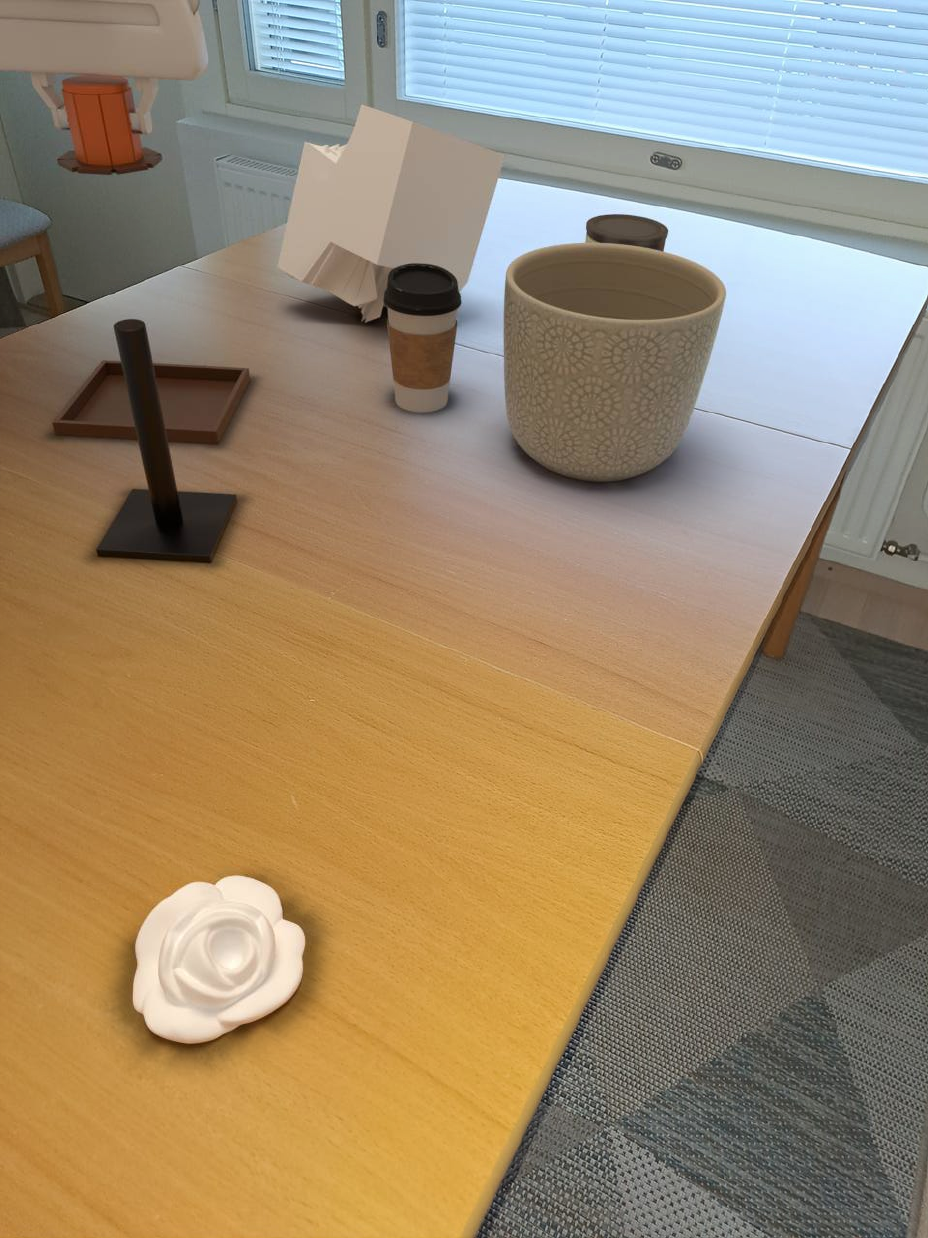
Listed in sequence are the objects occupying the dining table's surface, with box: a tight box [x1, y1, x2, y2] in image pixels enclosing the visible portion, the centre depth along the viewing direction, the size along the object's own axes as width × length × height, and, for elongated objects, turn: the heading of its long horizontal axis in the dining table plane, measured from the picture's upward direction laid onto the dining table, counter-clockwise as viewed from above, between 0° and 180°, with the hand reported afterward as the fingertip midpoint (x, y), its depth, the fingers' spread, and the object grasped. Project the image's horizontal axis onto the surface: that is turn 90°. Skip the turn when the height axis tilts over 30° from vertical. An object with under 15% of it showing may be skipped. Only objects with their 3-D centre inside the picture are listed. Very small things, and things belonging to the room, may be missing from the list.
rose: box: [132, 875, 306, 1044], centre depth 51 cm, size 10×4×10 cm
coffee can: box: [584, 213, 669, 252], centre depth 119 cm, size 10×10×14 cm
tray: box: [51, 359, 251, 446], centre depth 101 cm, size 17×15×2 cm
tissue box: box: [276, 104, 506, 323], centre depth 119 cm, size 20×16×25 cm
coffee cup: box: [383, 263, 463, 414], centre depth 101 cm, size 8×8×15 cm
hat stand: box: [95, 318, 238, 564], centre depth 78 cm, size 10×10×20 cm
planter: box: [503, 242, 727, 483], centre depth 93 cm, size 21×21×19 cm
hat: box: [56, 75, 163, 176], centre depth 83 cm, size 9×9×7 cm
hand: (104, 130), depth 83 cm, fingers closed on hat, 5 cm apart
